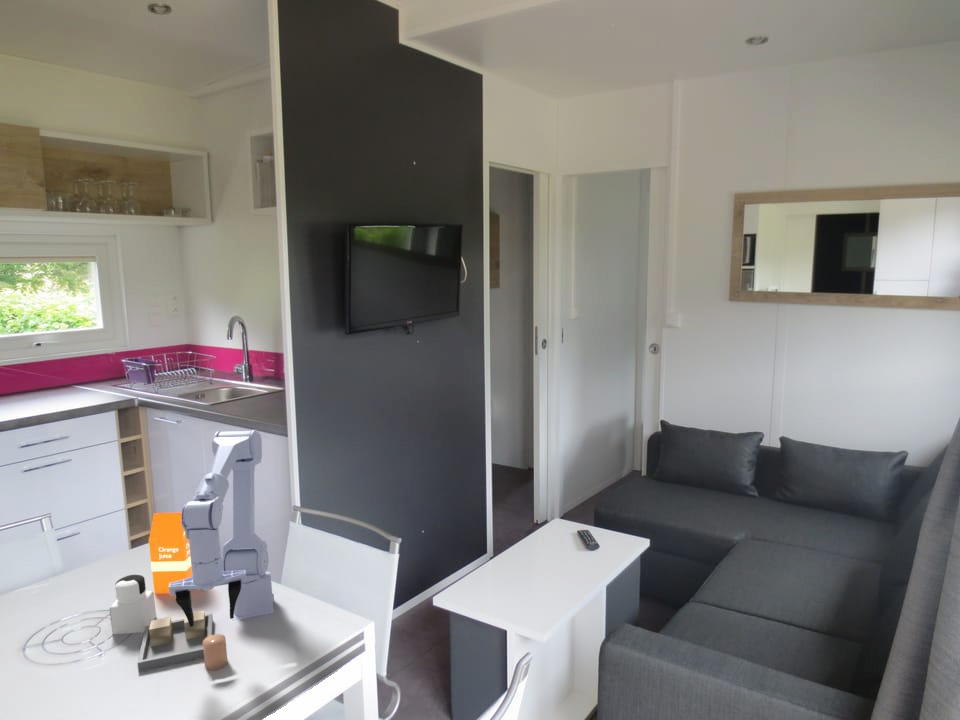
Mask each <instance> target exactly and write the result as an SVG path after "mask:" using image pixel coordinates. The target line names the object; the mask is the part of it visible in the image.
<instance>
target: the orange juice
mask: <svg viewBox="0 0 960 720" xmlns="http://www.w3.org/2000/svg"><path fill="white" fill-rule="evenodd" d="M181 513H182V512H156V513H155V512H153V518H152V523H151V529H150V532H149V533H150V534H149V537H148V548H149V555H150V557H149V558H150V567H151V568H150V569H151V574H152V582H153V592H154V594H169V583H172V582H176V581H180V580H183V579H186V578H189V577H192V568H191V558H190V548H189V540H188V539H186V538H185V531H184V529H183V528H182V525H181Z"/></svg>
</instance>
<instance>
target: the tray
mask: <svg viewBox="0 0 960 720" xmlns="http://www.w3.org/2000/svg"><path fill="white" fill-rule="evenodd" d="M184 620H185V618H181V619H175V620H171V624H172V633H173V634H172V640H171V643H166V644H162V645H157V646H152V647H151V641H150V632H149V628H150V625H149V626H146V627H145V632H143V637H142V641H141V646H140V649H139V655H138V660H137V670H138V671H137V672H143V671H148V670H153V669H158V668H162V667H163V668H164V667H166V666H171V665H177V664H181V663H186V662H191V661H195V660H199V659H200V660H201V659H204V652H203V640H204V639H205V638H207V637H209V636H211V635H214V634H213V632H214V617H213V613H207V614H205V623H206V633H205V636H201V637H196V638H191V639H186V635H185V626H184Z"/></svg>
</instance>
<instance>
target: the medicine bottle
mask: <svg viewBox="0 0 960 720" xmlns="http://www.w3.org/2000/svg"><path fill="white" fill-rule="evenodd" d="M114 586H115V594H116V595H115V598H116V600H115V601H114V602H113V603H112V604H111V605H110V607H109V615H110V625H111V631H112V633H111V634H112V635H125V634H139V633H140V634H141V633H144V632H145V627H146V626H149V625H150V624H151V620H156V618H157V611H156V602H155V592H154V590H147V589H146V579H145V577H144V576H143V575H141V574H129V575H126V576H123V577H121V578H120V579H118V580H117V581H116V582H115V585H114Z"/></svg>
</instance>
